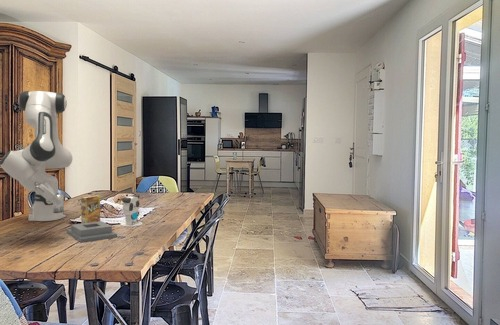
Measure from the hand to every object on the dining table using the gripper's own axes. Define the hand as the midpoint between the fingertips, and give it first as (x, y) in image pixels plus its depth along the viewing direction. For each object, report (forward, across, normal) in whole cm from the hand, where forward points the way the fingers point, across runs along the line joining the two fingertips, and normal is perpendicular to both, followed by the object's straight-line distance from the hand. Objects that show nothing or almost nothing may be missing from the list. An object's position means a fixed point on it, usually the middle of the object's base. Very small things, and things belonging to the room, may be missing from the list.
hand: (59, 202), depth 177 cm
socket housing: (+21, -1, +2) cm, 21 cm away
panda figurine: (+36, +14, -13) cm, 41 cm away
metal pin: (+3, 0, +4) cm, 4 cm away
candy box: (+23, +20, +1) cm, 30 cm away
